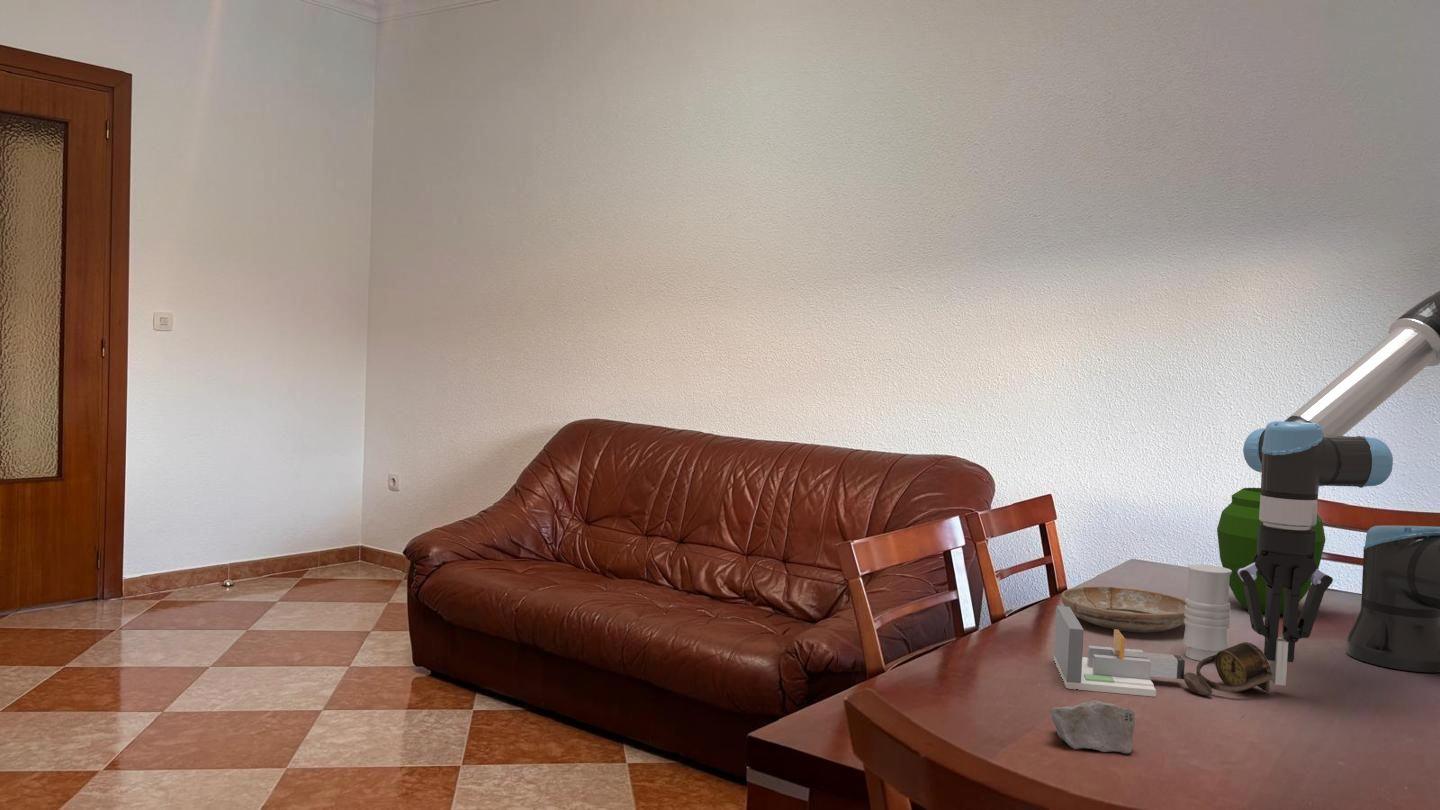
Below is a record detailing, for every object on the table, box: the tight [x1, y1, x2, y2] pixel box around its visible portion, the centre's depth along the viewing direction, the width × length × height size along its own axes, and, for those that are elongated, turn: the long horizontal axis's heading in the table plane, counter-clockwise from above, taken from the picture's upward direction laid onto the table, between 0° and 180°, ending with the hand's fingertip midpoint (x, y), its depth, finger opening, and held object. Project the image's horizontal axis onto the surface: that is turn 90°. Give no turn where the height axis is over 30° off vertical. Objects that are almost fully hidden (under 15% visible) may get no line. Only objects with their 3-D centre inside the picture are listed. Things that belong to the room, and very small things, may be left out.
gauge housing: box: [1053, 605, 1157, 698], centre depth 161 cm, size 12×15×9 cm
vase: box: [1216, 487, 1326, 616], centre depth 212 cm, size 20×20×24 cm
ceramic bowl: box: [1060, 586, 1187, 633], centre depth 197 cm, size 23×24×5 cm
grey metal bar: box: [1111, 629, 1186, 680], centre depth 159 cm, size 10×6×6 cm, turn 79°
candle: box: [1182, 563, 1232, 662], centre depth 175 cm, size 7×7×15 cm
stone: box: [1050, 699, 1136, 754], centre depth 133 cm, size 8×10×6 cm
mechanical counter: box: [1183, 641, 1272, 696], centre depth 157 cm, size 7×13×10 cm
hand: (1277, 682), depth 157 cm, fingers closed
